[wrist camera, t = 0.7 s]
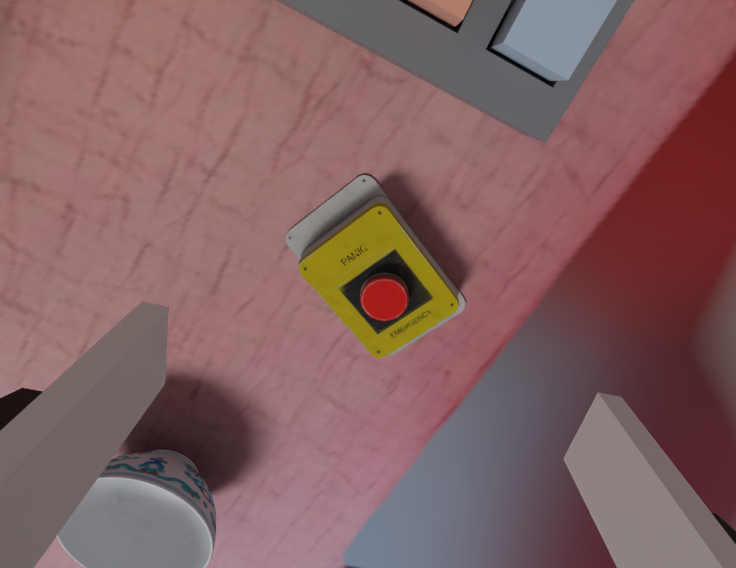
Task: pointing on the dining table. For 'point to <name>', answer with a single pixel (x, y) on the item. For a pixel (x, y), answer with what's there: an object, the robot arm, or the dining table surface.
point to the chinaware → (144, 515)
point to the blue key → (550, 34)
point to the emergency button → (373, 269)
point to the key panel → (462, 55)
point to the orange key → (445, 9)
